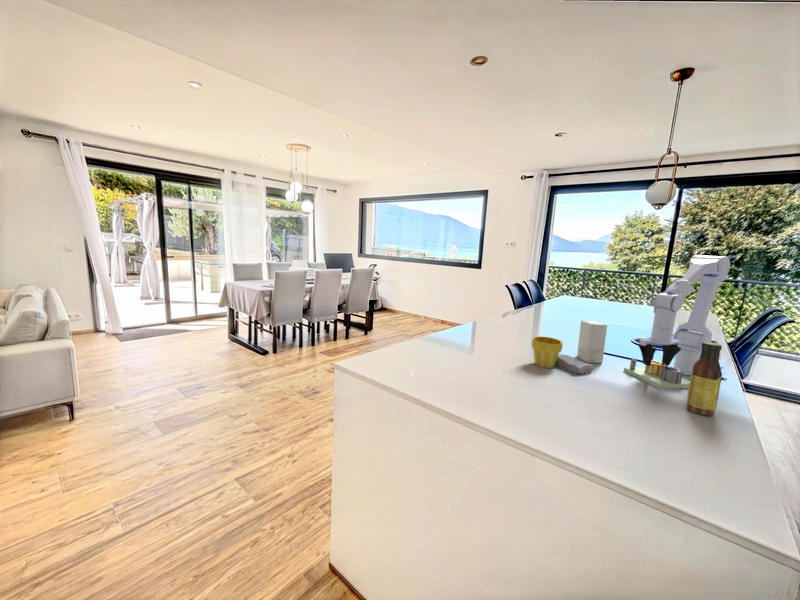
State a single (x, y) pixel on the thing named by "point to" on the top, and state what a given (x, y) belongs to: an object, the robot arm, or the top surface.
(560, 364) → the stone block
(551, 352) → the plant pot
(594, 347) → the skincare box
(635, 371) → the gear board
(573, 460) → the top surface
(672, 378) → the steel gear
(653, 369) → the brass gear
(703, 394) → the sauce bottle
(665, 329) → the robot arm
